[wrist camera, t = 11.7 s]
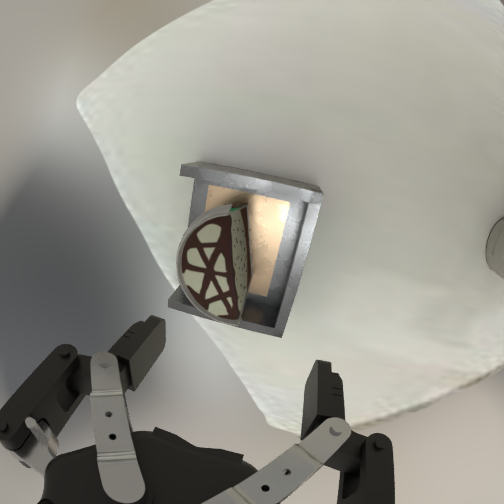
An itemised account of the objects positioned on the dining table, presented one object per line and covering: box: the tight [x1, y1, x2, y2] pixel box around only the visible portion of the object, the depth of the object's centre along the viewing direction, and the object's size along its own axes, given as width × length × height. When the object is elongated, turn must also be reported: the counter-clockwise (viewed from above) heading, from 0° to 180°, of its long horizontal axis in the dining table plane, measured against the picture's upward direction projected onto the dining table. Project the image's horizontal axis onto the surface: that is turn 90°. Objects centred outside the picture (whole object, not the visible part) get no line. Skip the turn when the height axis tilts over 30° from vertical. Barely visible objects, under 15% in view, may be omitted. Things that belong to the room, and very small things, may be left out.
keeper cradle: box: [168, 162, 324, 338], centre depth 33 cm, size 15×18×6 cm
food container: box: [176, 204, 253, 326], centre depth 30 cm, size 12×6×10 cm, turn 3°
